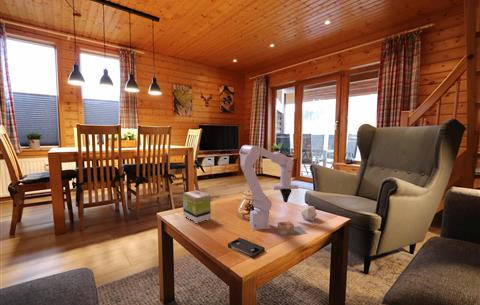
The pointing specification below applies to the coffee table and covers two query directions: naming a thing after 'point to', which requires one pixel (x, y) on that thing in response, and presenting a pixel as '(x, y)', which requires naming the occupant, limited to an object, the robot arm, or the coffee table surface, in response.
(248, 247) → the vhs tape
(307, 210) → the die
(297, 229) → the slate mat
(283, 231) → the maple block
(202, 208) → the tea box
